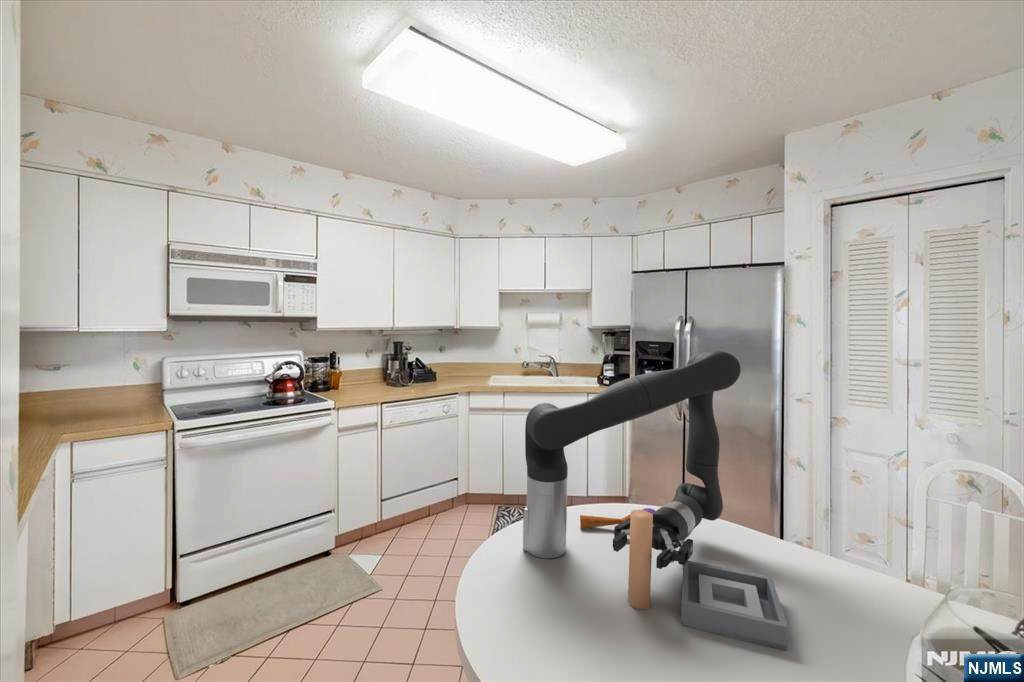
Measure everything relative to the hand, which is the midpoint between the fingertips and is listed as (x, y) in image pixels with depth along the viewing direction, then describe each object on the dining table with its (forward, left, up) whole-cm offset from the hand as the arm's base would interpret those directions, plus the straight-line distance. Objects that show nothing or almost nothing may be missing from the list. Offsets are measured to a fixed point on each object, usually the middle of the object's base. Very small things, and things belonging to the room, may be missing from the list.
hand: (636, 554), depth 83 cm
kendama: (-7, +30, -11) cm, 32 cm away
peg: (+1, +2, -10) cm, 10 cm away
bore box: (+16, +6, -10) cm, 20 cm away
